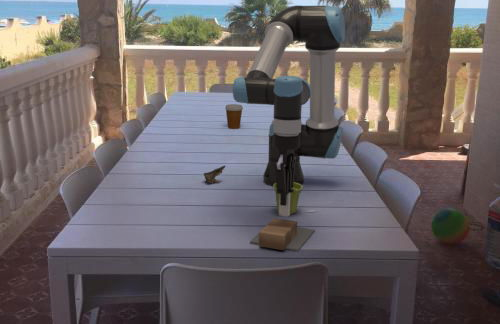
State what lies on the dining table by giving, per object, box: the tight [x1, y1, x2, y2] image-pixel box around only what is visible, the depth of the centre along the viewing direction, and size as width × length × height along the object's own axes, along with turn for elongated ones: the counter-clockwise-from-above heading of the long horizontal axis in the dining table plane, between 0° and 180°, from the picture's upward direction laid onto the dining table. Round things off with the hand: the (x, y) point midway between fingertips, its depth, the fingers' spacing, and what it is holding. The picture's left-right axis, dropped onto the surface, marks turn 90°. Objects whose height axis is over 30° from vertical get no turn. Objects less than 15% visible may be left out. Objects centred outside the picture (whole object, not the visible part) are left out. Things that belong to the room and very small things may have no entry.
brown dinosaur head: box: [203, 165, 226, 184], centre depth 219 cm, size 8×6×7 cm
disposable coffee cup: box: [224, 103, 244, 130], centre depth 316 cm, size 10×10×12 cm
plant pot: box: [272, 182, 303, 215], centre depth 189 cm, size 9×9×9 cm
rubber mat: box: [249, 226, 316, 252], centre depth 169 cm, size 16×14×1 cm
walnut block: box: [258, 217, 298, 251], centre depth 165 cm, size 4×7×12 cm
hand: (284, 214), depth 168 cm, fingers closed
